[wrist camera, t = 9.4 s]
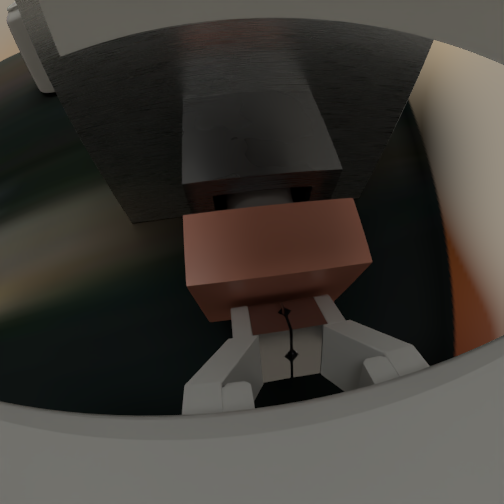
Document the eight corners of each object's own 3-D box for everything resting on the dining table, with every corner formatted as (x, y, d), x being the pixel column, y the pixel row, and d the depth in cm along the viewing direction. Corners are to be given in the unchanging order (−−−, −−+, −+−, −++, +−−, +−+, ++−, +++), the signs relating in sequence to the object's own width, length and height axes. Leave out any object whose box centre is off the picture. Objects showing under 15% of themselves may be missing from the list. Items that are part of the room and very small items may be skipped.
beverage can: (96, 83, 24) (61, -17, 13) (32, 106, 23) (-12, 22, 12) (110, 47, 27) (87, -35, 16) (52, 67, 26) (22, -6, 15)
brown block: (209, 322, 12) (186, 286, 7) (199, 200, 14) (182, 125, 10) (329, 305, 12) (372, 262, 8) (302, 189, 14) (321, 114, 10)
